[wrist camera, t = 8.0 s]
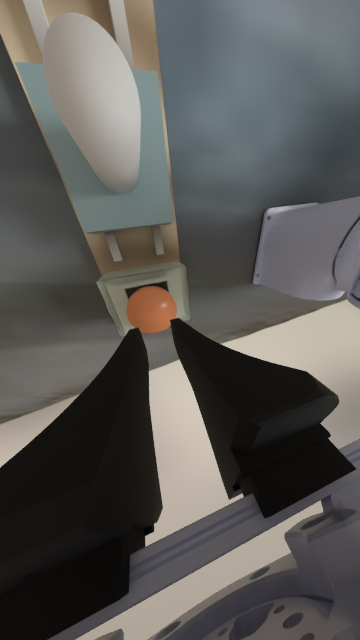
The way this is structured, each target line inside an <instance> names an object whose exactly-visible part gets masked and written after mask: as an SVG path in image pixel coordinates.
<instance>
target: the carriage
mask: <svg viewBox="0 0 360 640" xmlns="http://www.w3.org/2000/svg"><path fill="white" fill-rule="evenodd" d="M15 64H16V66H17V69H18V71H19V74H20V76H21V78H22V81H23V83H24V86H25V88H26V91H27V93H28V95H29V98H30V100H31V103H32V105H33V108H34V110H35V112H36V115H37V117H38V120H39V122H40V124H41V127H42V129H43V132H44V134H45V137H46V139H47V141H48V144H49V146H50V149H51V151H52V154H53V156H54V158H55V161H56V163H57V166H58V168H59V170H60V173H61V175H62V178H63V180H64V183H65V185H66V187H67V190H68V192H69V195H70V197H71V199H72V202H73V204H74V207H75V209H76V212H77V214H78V216H79V219H80V221H81V224H82V226H83V229H84V231H85V233H91V234H98V233H102V232H110V231H118V230H126V229H135V228H143V227H151V226H159V225H162V226H163V225H169V224H171V223H173V222H174V218H173V209H172V200H171V191H170V182H169V173H168V164H167V155H166V147H165V138H164V129H163V120H162V111H161V102H160V93H159V84H158V75H157V71H147V70H131V69H130V67H129V64H128V62H127V60H126V58H125V57H124V55H123V53H122V51H121V50H120V48H119V46H118V45H117V43H116V42H115V41H114V39H113V38H112V37H111V36H110V35H109V33H108V32H107V31H106V30H105V29H104V28H103V27H102V26H100V25H99V24H98V23H97V22H96V21H94V20H93V19H91V18H89V17H87V16H85V15H83V14H79V13H75V12H68V13H64V14H61V15H60V16H58V17H57V18H55V20H54V21H53V22H52V23H51V24H50V26H49V28H48V30H47V33H46V36H45V39H44V45H43V64H40V63H25V62H15Z"/></svg>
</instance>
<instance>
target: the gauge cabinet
mask: <svg viewBox="0 0 360 640" xmlns="http://www.w3.org/2000/svg"><path fill="white" fill-rule="evenodd" d="M163 281H166V282H167V288H168V292H169V293H170V294H171V296H172V297H173V299H174V301H175V303H176V306H177V315H176V318H180V319H181V320H183V321H187V320H191V318H190V306H189V294H188V282H187V271H186V266H185V265H183V264H181V263H179V262H178V261H171V262H165V263H159V264H153V265H148V266H142V267H136V268H130V269H124V270H118V271H112V272H106V273H105V274H104V275H103V276H102V277H101V278H100V279H99V280H98V281H97V282H96V283H97V285H98V287H99V290H100V292H101V294H102V296H103V299H104V301H105V303H106V306H107V311H109V313H110V315H111V316H112V318H113V321H114V323H115V325H116V327H117V330H118V332H119V334H120V336H121V337H122V336H125V335H126V334H127V332H128V331H129V329H134V327H133V326H132V325H131V324H130V322H129V320H128V318H127V304H128V301H129V298H128V295H127V292H126V288H132V287H137V286H142V285H147V284H153V283H158V282H163ZM140 332H141V331H140Z"/></svg>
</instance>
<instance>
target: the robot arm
mask: <svg viewBox="0 0 360 640" xmlns="http://www.w3.org/2000/svg"><path fill="white" fill-rule="evenodd" d="M267 218H268V220H267ZM257 274H258V275H257ZM252 283H253V284H254V285H257V284H261V285H263V286H266V287H269V288H272V289H274V290H277V291H280V292H283V293H285V294H288V295H291V296H294V297H298V298H303V299H309V300H333V299H337V298H339V297H341V296H342V295H343V294H344V292H348V294H347V299H348V301H349V302H350V303H351V304H353V305H354V306H356V307H357V308H359V309H360V196H358V197H353V198H348V199H343V200H338V201H333V202H328V203H323V204H318V203H308V204H300V205H291V206H282V207H274V208H268V209H267V210H266V211H265V213H264V219H263V224H262V230H261V236H260V242H259V247H258V253H257V259H256V264H255V270H254V276H253V282H252ZM170 323H171V329H172V334H173V339H174V344H175V347H176V350H177V354H178V356H179V359H180V361H181V363H182V365H183V368H184V370H185V372H186V374H187V377H188V379H189V381H190V383H191V386H192V388H193V391H194V394H195V397H196V400H197V403H198V406H199V409H200V411H201V415H202V418H203V421H204V424H205V427H206V430H207V433H208V436H209V439H210V442H211V445H212V449H213V451H214V455H215V458H216V461H217V464H218V468H219V471H220V474H221V477H222V481H223V483H224V487H225V489H226V492H227V495H228V498H229V499H232V498H234V497H236V496H238V495H240V494H241V493H243V495H244V497H243V498H241V499H240V500H237V501H236V502H234V503H232V504H230V505H228V506H226V507H224V508H222V509H220V510H218V511H216V512H214V513H212V514H210V515H208V516H206V517H204V518H202V519H200V520H198V521H196V522H194V523H192V524H190V525H188V526H186V527H184V528H182V529H180V530H178V531H176V532H174V533H172V534H170V535H168V536H166V537H164V538H162V539H160V540H158V541H156V542H154V543H152V544H151V545H148V546H146V547H145V536H146V535H148V534H150V533H152V532H154V523H156V522H157V521H158V519H159V516H160V514H161V511H162V508H163V506H162V499H161V492H160V485H159V478H158V471H157V463H156V456H155V448H154V440H153V432H152V423H151V414H150V405H149V363H148V356H147V350H146V347H145V344H144V341H143V338H142V335H141V332H140V329H139V327H138V328H134V329H129V331H128V332H127V334H126V335H125V337H124V339H123V340H122V342H121V344H120V345H119V347H118V348H117V350H116V351H115V353H114V354H113V356H112V357H111V359H110V360H109V361H108V363H107V364H106V365H105V367H104V368H103V369H102V371H101V372H100V373H99V374H98V375H97V377H96V378H95V379H94V380H93V381H92V382H91V383H90V385H89V386H88V387H87V388H86V389H85V390H84V391H83V392H82V393H81V394H80V395H79V396H78V397H77V398H76V399H75V400H74V401H73V402H72V403H71V404H70V405H69V406H68V407H67V408H66V409H65V410H64V411H63V412H62V413H61V414H60V415H59V416H58V417H57V418H56V419H55V420H54V421H53V422H52V423H51V424H50V425H49V426H48V427H46V428H45V429H44V430H43V431H42V432H41V433H40V434H39V435H38V436H37V437H35V438H34V439H33V440H32V441H31V442H30V443H29V444H28V445H27V446H25V447H24V448H23V449H22V450H21V451H19V452H18V453H17V454H16V455H15V456H14V457H13V458H11V459H10V460H9V461H8V462H7V463H5V464H4V465H3V466H2V467H1V468H0V640H75V639H77V638H78V637H80V636H82V635H84V634H85V633H87V632H89V631H91V630H92V629H94V628H96V627H98V626H99V625H101V624H103V623H105V622H106V621H108V620H110V619H112V618H114V617H115V616H117V615H119V614H121V613H122V612H124V611H126V610H128V609H129V608H131V607H133V606H135V605H136V604H138V603H140V602H142V601H144V600H145V599H147V598H149V597H151V596H152V595H154V594H156V593H158V592H159V591H161V590H163V589H165V588H166V587H168V586H170V585H172V584H173V583H175V582H177V581H179V580H181V579H182V578H184V577H186V576H188V575H189V574H191V573H193V572H195V571H196V570H198V569H200V568H202V567H203V566H205V565H207V564H209V563H210V562H212V561H214V560H216V559H218V558H219V557H221V556H223V555H225V554H226V553H228V552H230V551H232V550H233V549H235V548H237V547H239V546H240V545H242V544H244V543H246V542H247V541H249V540H251V539H253V538H255V537H256V536H258V535H260V534H262V533H263V532H265V531H267V530H269V529H270V528H272V527H274V526H276V525H277V524H279V523H281V522H283V521H284V520H286V519H288V518H290V517H291V516H293V515H295V514H297V513H298V512H300V511H302V510H304V509H306V508H307V507H309V506H311V505H313V504H314V503H316V502H318V501H320V500H321V503H322V507H323V513H320V514H316V515H313V516H310V517H308V518H306V519H303V520H302V521H300V522H299V523H297V524H296V525H295V526H293V527H292V528H291V529H290V530H288V532H286V533H285V540H286V542H287V544H288V546H289V548H290V550H291V552H292V553H290V554H288V555H286V556H284V557H282V558H280V559H278V560H276V561H274V562H273V563H270V564H268V565H266V566H265V567H262V568H260V569H258V570H256V571H255V572H253V573H251V574H249V575H247V576H245V577H243V578H241V579H239V580H237V581H235V582H234V583H232V584H230V585H228V586H227V587H225V588H223V589H222V590H220V591H218V592H216V593H215V594H213V595H212V596H210V597H208V598H207V599H205V600H204V601H202V602H201V603H199V604H198V605H196V606H195V607H193V608H192V609H190V610H189V611H187V612H186V613H185V614H183V615H182V616H180V617H179V618H177V619H176V620H175V621H173V622H172V623H170V624H169V625H168V626H166V627H165V628H163V629H162V630H160V631H159V632H158V633H156V634H155V635H154V636H152V637H151V638H149V639H148V640H360V439H358V440H356V441H354V442H352V443H350V444H348V445H346V446H345V447H342V448H340V449H337V448H336V447H335V446H334V444H332V442H331V441H330V440H329V439H328V438H329V437H330V436H331V435H330V433H329V432H328V431H327V430H326V429H325V428H324V427H323V426H322V425H321V424H320V423H321V422H322V421H323V420H324V419H325V418H326V417H327V416H328V415H329V414H330V413H331V412H332V411H333V410H334V409H335V408H336V407H337V405H338V404H339V399H338V396H337V395H336V394H335V393H334V392H332V391H331V390H330V389H328V388H327V387H326V386H325V385H323V384H322V383H321V382H320V381H318V380H317V379H316V378H314V377H313V376H312V375H310V374H309V373H308V372H306V371H302V370H298V369H294V368H290V367H286V366H282V365H278V364H274V363H270V362H267V361H264V360H261V359H258V358H254V357H251V356H248V355H245V354H243V353H240V352H238V351H235V350H232V349H230V348H227V347H225V346H223V345H221V344H219V343H217V342H215V341H213V340H211V339H209V338H207V337H206V336H204V335H202V334H201V333H199V332H198V331H196V330H195V329H193V328H192V327H190V326H189V325H188V324H186V323H185V322H184V321H183V320H181V319H180V318H175V319H171V320H170ZM123 636H124V633H123V631H122V629H118V630H116V631H114V632H111V633H108V634H106V635H103V636H101V637H99V638H97V639H95V640H123Z"/></svg>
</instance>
